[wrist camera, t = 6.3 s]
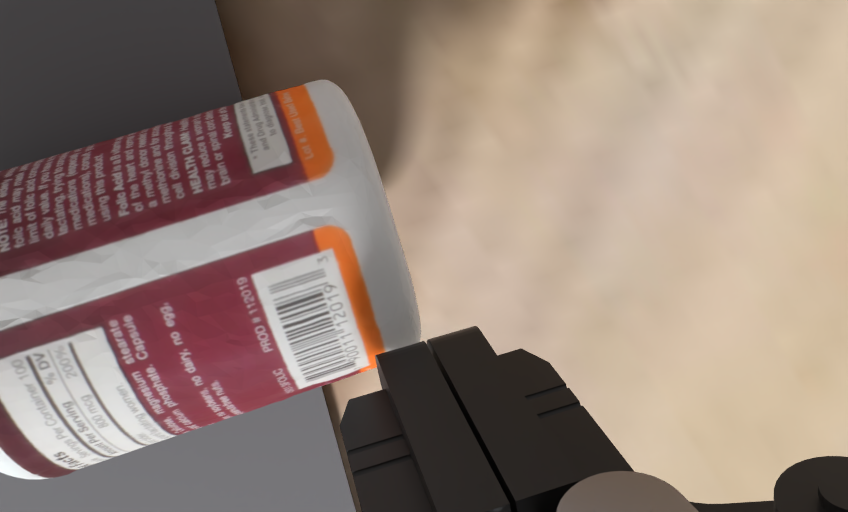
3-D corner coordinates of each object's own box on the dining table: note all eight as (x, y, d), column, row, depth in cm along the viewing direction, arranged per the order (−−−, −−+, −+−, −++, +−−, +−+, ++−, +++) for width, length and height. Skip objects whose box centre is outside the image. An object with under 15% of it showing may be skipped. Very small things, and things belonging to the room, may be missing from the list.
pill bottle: (340, 131, 16) (-95, 258, 15) (332, 20, 11) (-310, 194, 10) (416, 361, 15) (-34, 512, 14) (440, 345, 10) (-234, 570, 9)
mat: (-496, 22, 12) (-525, 27, 11) (185, -106, 13) (184, -107, 13) (-39, 723, 18) (-46, 743, 18) (376, 584, 20) (380, 600, 19)
